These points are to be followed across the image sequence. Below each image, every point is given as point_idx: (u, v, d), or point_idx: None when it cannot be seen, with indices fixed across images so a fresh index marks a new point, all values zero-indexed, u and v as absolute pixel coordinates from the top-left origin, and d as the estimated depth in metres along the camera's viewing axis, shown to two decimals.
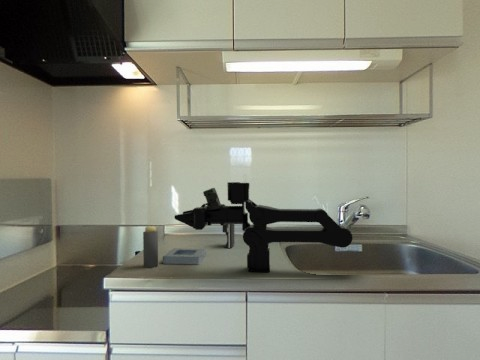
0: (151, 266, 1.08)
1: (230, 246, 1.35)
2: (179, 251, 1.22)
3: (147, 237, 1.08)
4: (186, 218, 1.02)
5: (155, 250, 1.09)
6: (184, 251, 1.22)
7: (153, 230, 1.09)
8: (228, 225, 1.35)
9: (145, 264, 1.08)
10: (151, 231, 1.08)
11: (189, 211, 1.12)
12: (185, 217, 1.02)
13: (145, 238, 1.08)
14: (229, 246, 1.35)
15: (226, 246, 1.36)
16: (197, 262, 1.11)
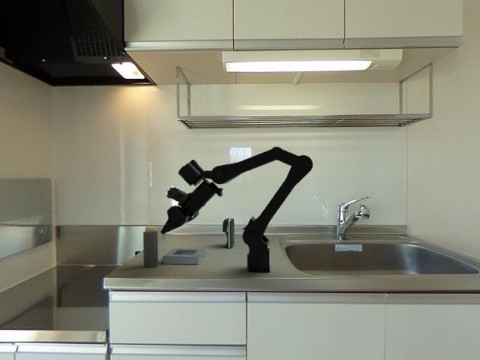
0: (151, 266, 1.08)
1: (230, 246, 1.35)
2: (179, 251, 1.22)
3: (147, 237, 1.08)
4: (169, 225, 1.03)
5: (155, 250, 1.09)
6: (184, 251, 1.22)
7: (153, 230, 1.09)
8: (228, 225, 1.35)
9: (145, 264, 1.08)
10: (151, 231, 1.08)
11: None
12: (168, 225, 1.03)
13: (145, 238, 1.08)
14: (229, 246, 1.35)
15: (226, 246, 1.36)
16: (197, 262, 1.11)
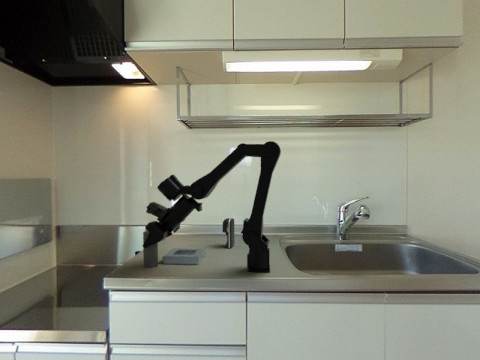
0: (151, 266, 1.08)
1: (230, 246, 1.35)
2: (179, 251, 1.22)
3: None
4: (151, 239, 1.06)
5: (155, 250, 1.09)
6: (184, 251, 1.22)
7: None
8: (228, 225, 1.35)
9: (145, 264, 1.08)
10: None
11: None
12: (150, 239, 1.06)
13: (145, 238, 1.08)
14: (229, 246, 1.35)
15: (226, 246, 1.36)
16: (197, 262, 1.11)
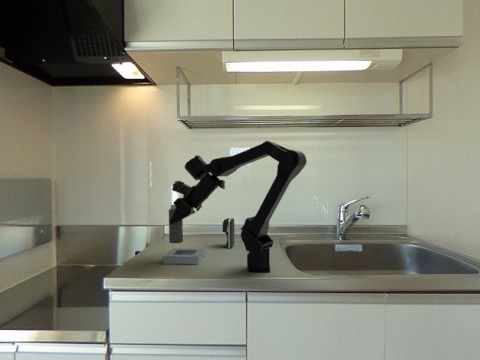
0: (177, 241, 1.13)
1: (230, 246, 1.35)
2: (179, 251, 1.22)
3: None
4: (177, 215, 1.11)
5: (180, 227, 1.14)
6: (184, 251, 1.22)
7: None
8: (228, 225, 1.35)
9: (171, 240, 1.13)
10: None
11: None
12: (176, 215, 1.11)
13: (171, 215, 1.13)
14: (229, 246, 1.35)
15: (226, 246, 1.36)
16: (197, 262, 1.11)
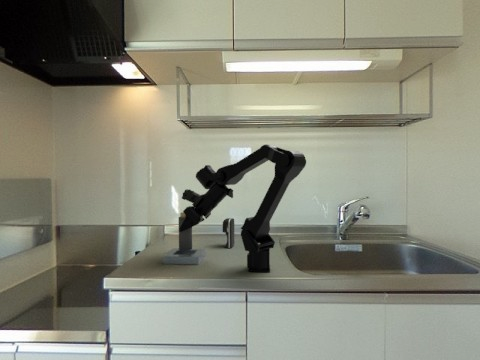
0: (186, 249, 1.16)
1: (230, 246, 1.35)
2: (179, 251, 1.22)
3: (182, 222, 1.16)
4: (187, 223, 1.14)
5: (190, 234, 1.17)
6: (184, 251, 1.22)
7: None
8: (228, 225, 1.35)
9: (181, 247, 1.16)
10: None
11: None
12: (185, 223, 1.14)
13: (181, 222, 1.16)
14: (229, 246, 1.35)
15: (226, 246, 1.36)
16: (197, 262, 1.11)
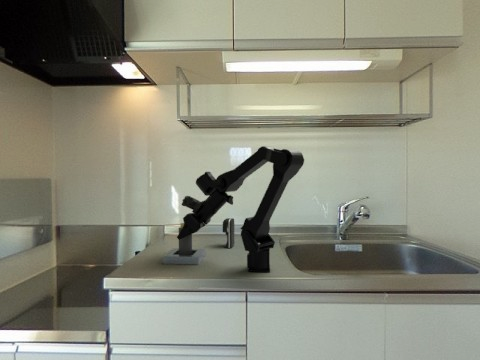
0: None
1: (230, 246, 1.35)
2: None
3: None
4: (185, 231, 1.12)
5: (190, 245, 1.17)
6: None
7: None
8: (228, 225, 1.35)
9: None
10: None
11: None
12: (184, 231, 1.12)
13: None
14: (229, 246, 1.35)
15: (226, 246, 1.36)
16: (197, 262, 1.11)
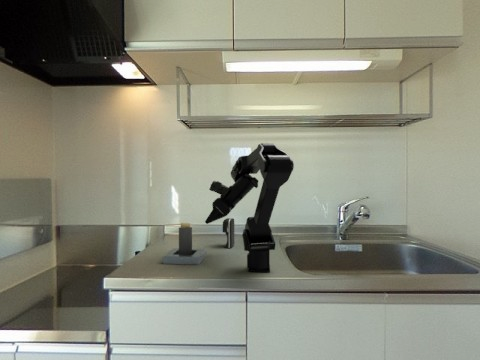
0: None
1: (230, 246, 1.35)
2: None
3: (183, 233, 1.16)
4: (214, 215, 1.14)
5: (190, 245, 1.17)
6: None
7: (188, 226, 1.17)
8: (228, 225, 1.35)
9: None
10: (186, 227, 1.16)
11: None
12: (212, 215, 1.14)
13: (181, 233, 1.16)
14: (229, 246, 1.35)
15: (226, 246, 1.36)
16: (197, 262, 1.11)
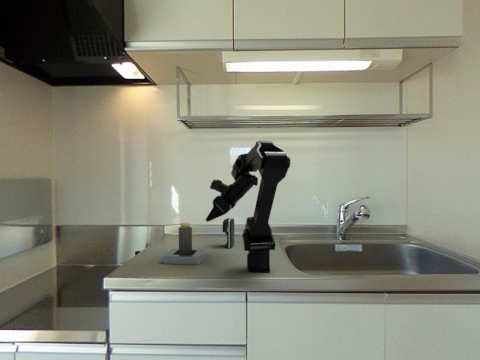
0: None
1: (230, 246, 1.35)
2: None
3: (182, 233, 1.16)
4: (214, 213, 1.15)
5: (190, 245, 1.17)
6: None
7: (188, 226, 1.17)
8: (228, 225, 1.35)
9: None
10: (186, 227, 1.16)
11: None
12: (213, 213, 1.15)
13: (181, 233, 1.16)
14: (229, 246, 1.35)
15: (226, 246, 1.36)
16: (197, 262, 1.11)
